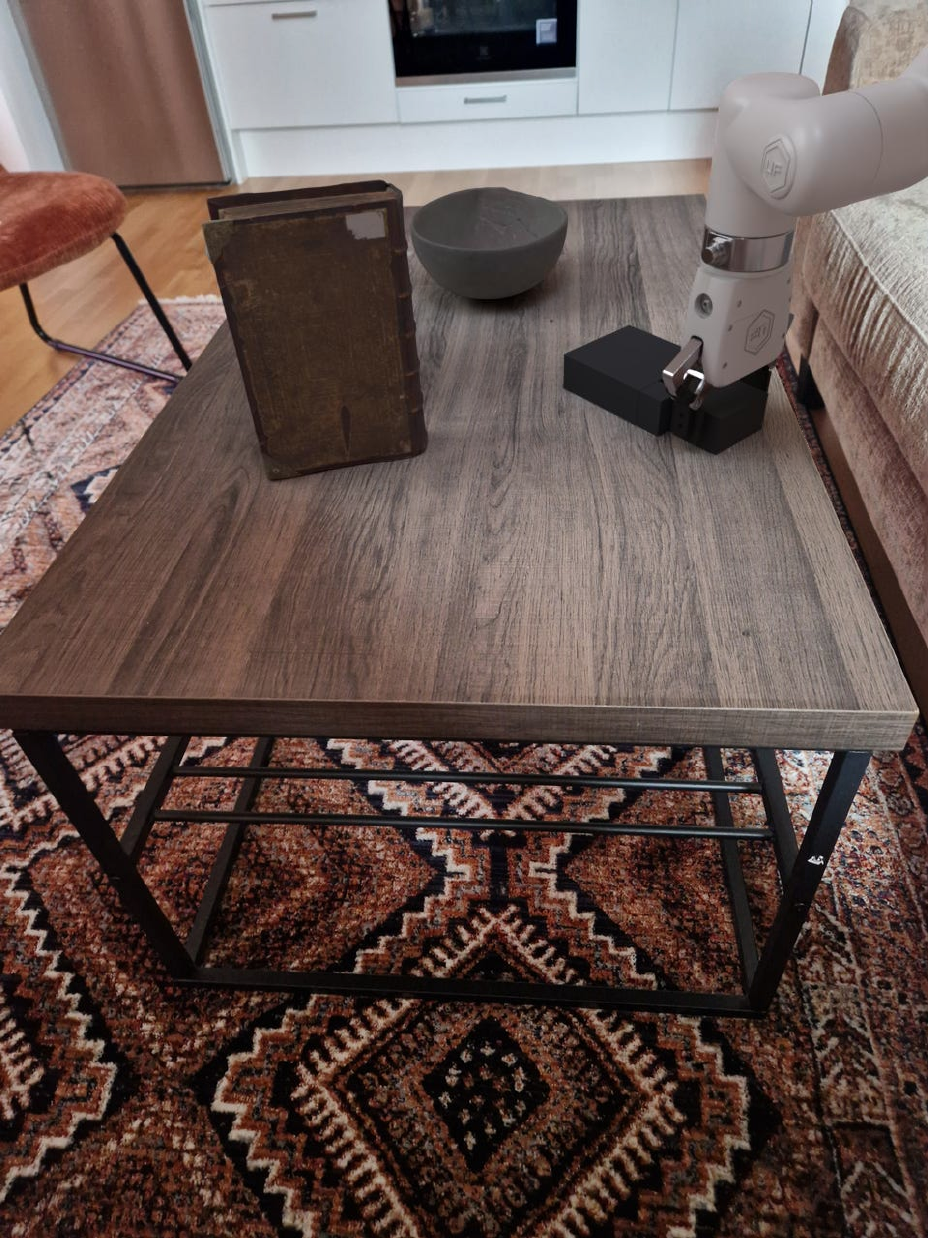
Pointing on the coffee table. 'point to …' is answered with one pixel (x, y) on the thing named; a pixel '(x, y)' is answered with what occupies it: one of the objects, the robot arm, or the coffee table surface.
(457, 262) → the bowl
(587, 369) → the notch pad
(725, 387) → the pad
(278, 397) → the book
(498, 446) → the coffee table surface
